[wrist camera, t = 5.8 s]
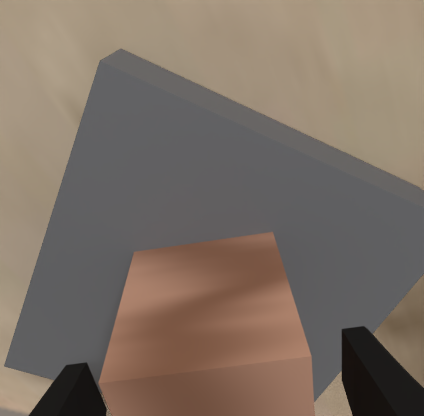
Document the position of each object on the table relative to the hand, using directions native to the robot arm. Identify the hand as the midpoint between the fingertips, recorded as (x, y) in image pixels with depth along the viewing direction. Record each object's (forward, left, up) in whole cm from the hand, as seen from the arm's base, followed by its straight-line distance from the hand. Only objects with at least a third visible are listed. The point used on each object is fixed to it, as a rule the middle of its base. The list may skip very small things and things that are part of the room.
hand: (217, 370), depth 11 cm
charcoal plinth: (0, 0, -6) cm, 6 cm away
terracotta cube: (0, 0, -3) cm, 3 cm away
